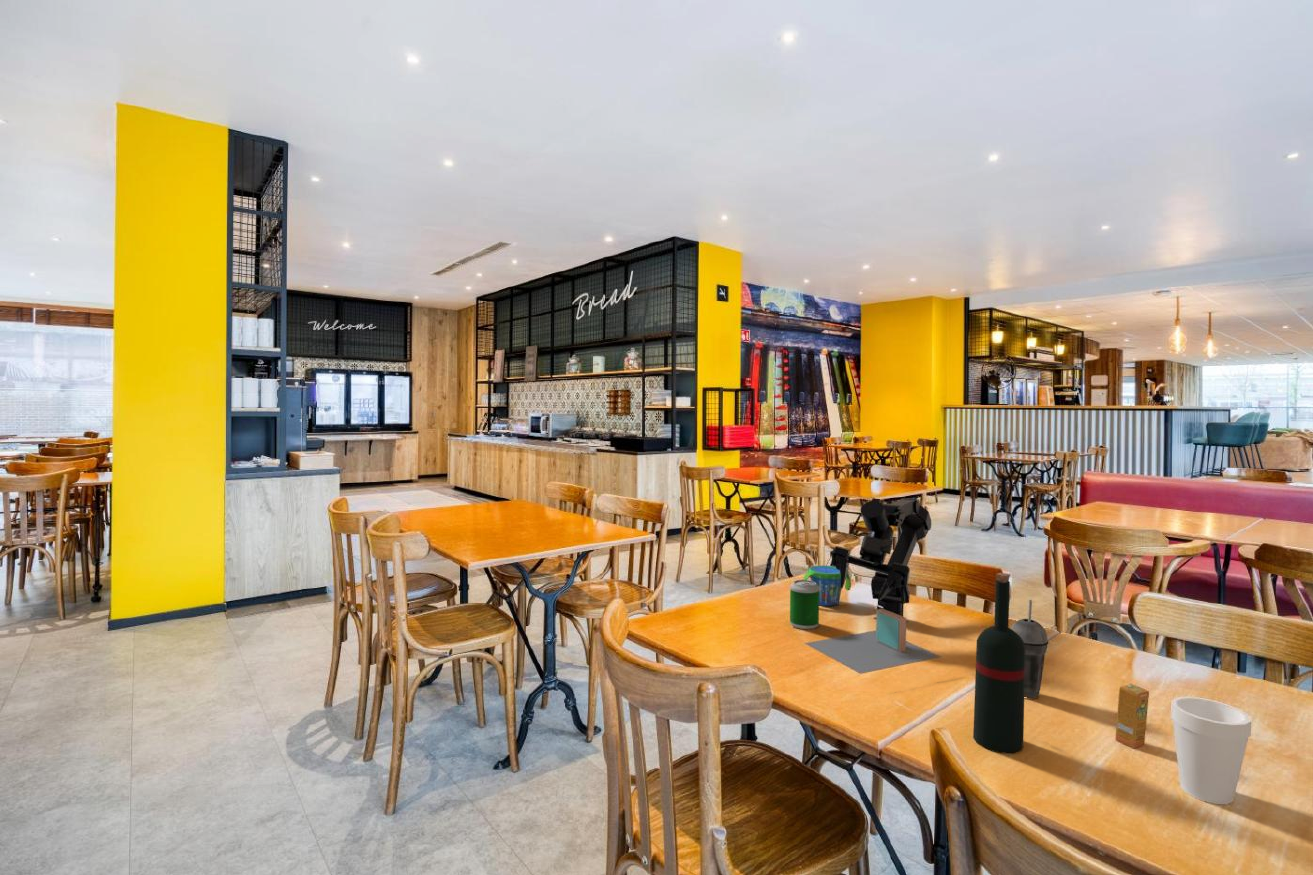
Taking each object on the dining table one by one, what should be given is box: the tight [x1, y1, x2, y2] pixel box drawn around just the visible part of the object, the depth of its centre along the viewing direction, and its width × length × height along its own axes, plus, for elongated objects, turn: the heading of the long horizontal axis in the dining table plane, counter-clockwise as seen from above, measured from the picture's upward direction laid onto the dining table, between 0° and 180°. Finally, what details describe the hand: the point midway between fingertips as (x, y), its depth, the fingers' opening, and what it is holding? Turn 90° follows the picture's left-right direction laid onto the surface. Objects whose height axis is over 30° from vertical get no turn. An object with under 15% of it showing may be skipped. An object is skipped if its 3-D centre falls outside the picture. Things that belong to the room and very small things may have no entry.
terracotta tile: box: [875, 608, 907, 652], centre depth 163 cm, size 2×8×8 cm, turn 24°
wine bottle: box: [972, 572, 1026, 755], centre depth 118 cm, size 8×10×30 cm
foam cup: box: [1170, 696, 1252, 805], centre depth 103 cm, size 10×9×13 cm
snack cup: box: [802, 564, 852, 607], centre depth 199 cm, size 16×10×10 cm
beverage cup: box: [1009, 599, 1050, 699], centre depth 137 cm, size 7×7×20 cm
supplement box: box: [1115, 683, 1150, 749], centre depth 118 cm, size 3×3×10 cm
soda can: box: [789, 579, 820, 630], centre depth 178 cm, size 8×8×12 cm
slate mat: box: [804, 630, 942, 674], centre depth 161 cm, size 24×20×1 cm
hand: (860, 593), depth 164 cm, fingers open, 9 cm apart
